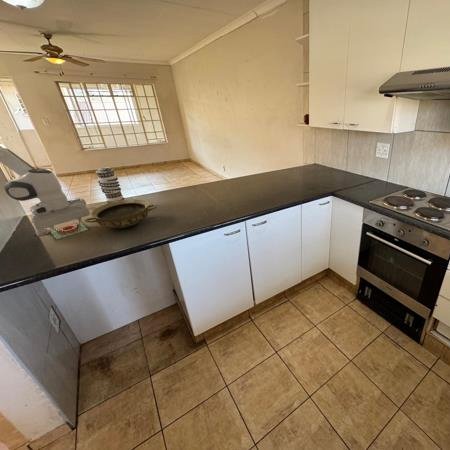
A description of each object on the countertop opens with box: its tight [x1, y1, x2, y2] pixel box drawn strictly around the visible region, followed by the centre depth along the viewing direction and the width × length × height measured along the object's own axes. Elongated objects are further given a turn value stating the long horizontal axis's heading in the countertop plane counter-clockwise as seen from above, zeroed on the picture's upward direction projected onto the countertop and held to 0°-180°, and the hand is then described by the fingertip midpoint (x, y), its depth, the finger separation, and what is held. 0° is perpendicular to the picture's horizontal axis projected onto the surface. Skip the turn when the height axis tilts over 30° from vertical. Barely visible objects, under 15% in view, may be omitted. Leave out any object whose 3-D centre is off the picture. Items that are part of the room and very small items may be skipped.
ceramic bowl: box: [84, 198, 157, 229], centre depth 124 cm, size 30×24×10 cm
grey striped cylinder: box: [95, 166, 125, 204], centre depth 138 cm, size 9×9×25 cm
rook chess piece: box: [30, 219, 50, 237], centre depth 117 cm, size 4×4×8 cm
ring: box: [59, 224, 79, 234], centre depth 121 cm, size 7×7×1 cm
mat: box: [50, 222, 89, 240], centre depth 121 cm, size 12×12×1 cm
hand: (69, 229), depth 121 cm, fingers closed on ring, 7 cm apart
